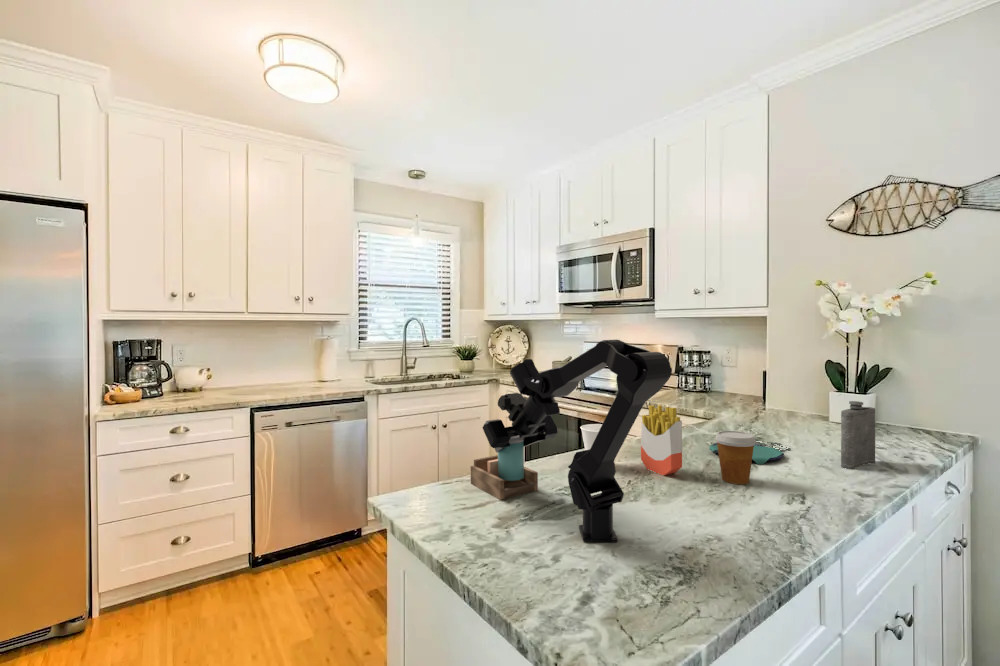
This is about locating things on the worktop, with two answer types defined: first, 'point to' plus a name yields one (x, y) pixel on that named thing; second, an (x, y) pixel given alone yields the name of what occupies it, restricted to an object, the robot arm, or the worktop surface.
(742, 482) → the disposable coffee cup
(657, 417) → the french fries container
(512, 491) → the small wooden crate
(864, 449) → the flask
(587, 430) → the cup
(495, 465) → the bar
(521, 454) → the teal lidded canister
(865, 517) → the worktop surface
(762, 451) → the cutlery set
